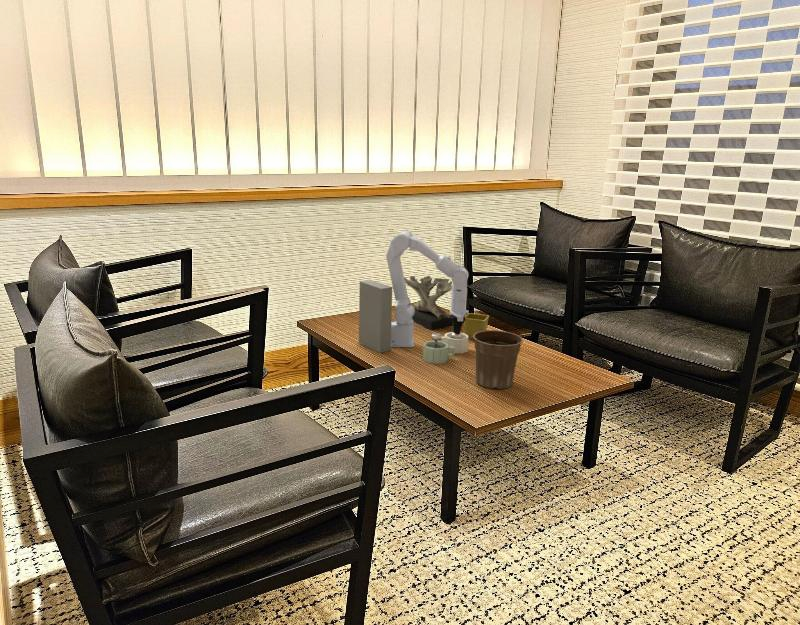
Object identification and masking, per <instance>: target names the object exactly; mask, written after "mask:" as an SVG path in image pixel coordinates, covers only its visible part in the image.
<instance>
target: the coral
mask: <svg viewBox="0 0 800 625" xmlns="http://www.w3.org/2000/svg"><path fill="white" fill-rule="evenodd" d="M404 279H405V284H406V286H408V287H410V288H411V289H413V290H414V291H415V292H416V293H417V295H418V296H419V298H420V300H418V301H417V302H414V303H413V307H414V309H415V313H414V315H413V316H412V319H413V321H414V323H415V322H416V323H415V324H417V323H418V324H417V325H419V324H420V326H421V325H422V327H423V326H424V328H425V329H428V330H429V331H434V330H435V329H436V330H441V329H446V328H445V327H447V328H451V327H450V326H453V324H452V319H451V317H450V315H451V314H449V313H447V312H446V311H445V310H443V309H442V308H441V307H440V306H438V305H437V303H436V302H437V300H438V299H439V298H440V297H442V296H444V295H446V294H447V293H448V292H450V291H452V287H453V282H452V280H451V281H450V279H449V278H434V279H433V278H432V277H431V276H430V275H427V276H424V277H421V278H419V280H420V281H418V279H417V278H416V277H415V275H410V276H409V279H407V278H406V277H404ZM435 287H436V288H435ZM434 288H435V293H434V294H432V295H430V294H431V291H432V290H433V289H434ZM440 328H441V329H440ZM436 330H435V331H436Z"/></svg>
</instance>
